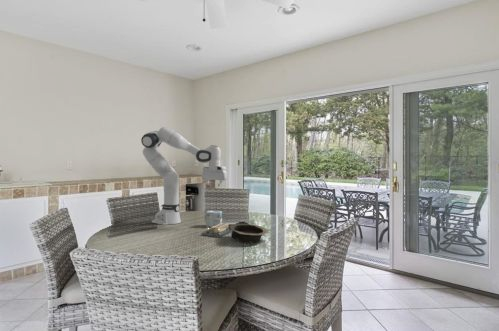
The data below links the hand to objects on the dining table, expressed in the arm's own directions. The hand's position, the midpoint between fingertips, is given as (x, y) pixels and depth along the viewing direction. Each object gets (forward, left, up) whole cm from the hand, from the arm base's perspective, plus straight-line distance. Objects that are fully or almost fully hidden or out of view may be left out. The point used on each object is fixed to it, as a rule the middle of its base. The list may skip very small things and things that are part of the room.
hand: (214, 185), depth 217 cm
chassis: (+16, -19, -29) cm, 38 cm away
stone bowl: (+40, -25, -29) cm, 55 cm away
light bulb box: (+3, -4, -29) cm, 30 cm away
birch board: (+16, -19, -27) cm, 37 cm away
